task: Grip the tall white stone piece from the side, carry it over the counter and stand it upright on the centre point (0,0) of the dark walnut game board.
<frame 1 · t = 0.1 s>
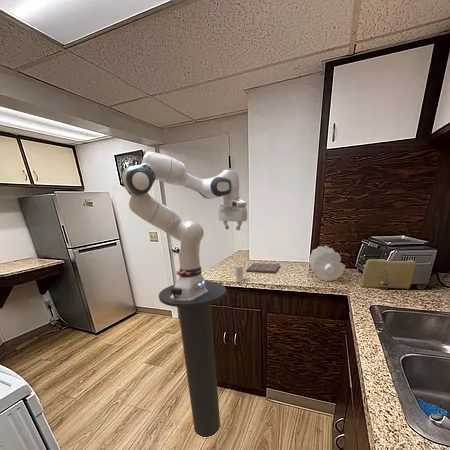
hand: (232, 229, 139), 32 cm above the counter, tool pointing down, fingers open, 8 cm apart
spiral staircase: (323, 277, 155), on the counter
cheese: (383, 286, 133), on the counter
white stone: (239, 280, 157), on the counter
board: (263, 268, 179), on the counter
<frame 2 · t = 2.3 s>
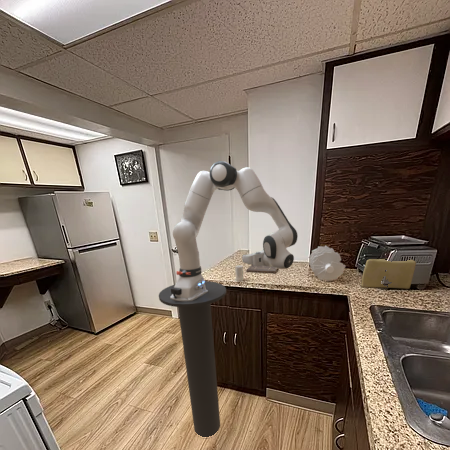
hand: (250, 254, 141), 18 cm above the counter, tool horizontal, fingers open, 8 cm apart
nothing on the counter moved.
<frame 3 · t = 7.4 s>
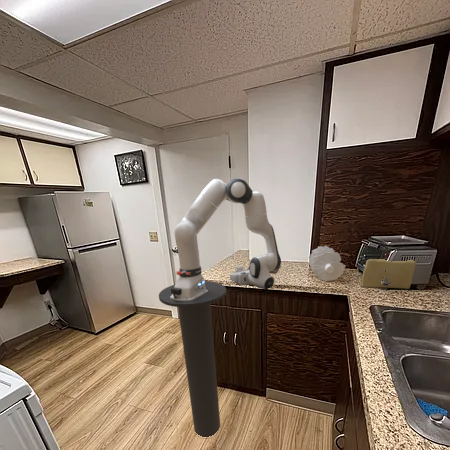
hand: (238, 272, 156), 5 cm above the counter, tool horizontal, fingers closed on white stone, 5 cm apart
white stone: (239, 280, 157), on the counter, touching gripper
everything else where it was.
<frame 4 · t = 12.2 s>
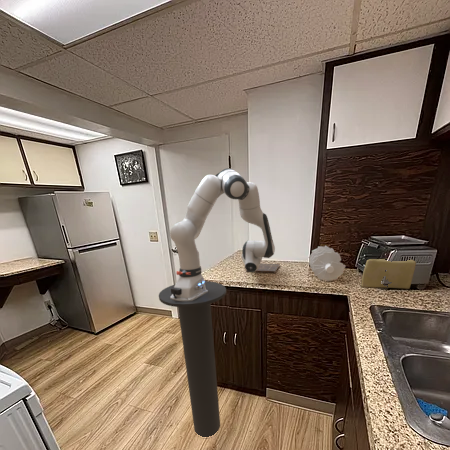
hand: (258, 249, 169), 15 cm above the counter, tool horizontal, fingers closed on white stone, 5 cm apart
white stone: (260, 256, 170), point 10 cm above the counter, tilted 17°, touching gripper
everything else where it was.
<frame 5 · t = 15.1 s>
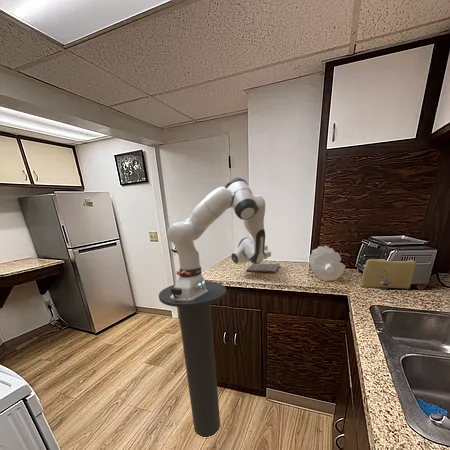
hand: (264, 251, 175), 13 cm above the counter, tool horizontal, fingers closed on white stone, 5 cm apart
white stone: (263, 258, 176), point 8 cm above the counter, touching gripper
everything else where it was.
when the fingers open (7 cm above the counter, at t = 17.3 s): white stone stays where it is, resting on board.
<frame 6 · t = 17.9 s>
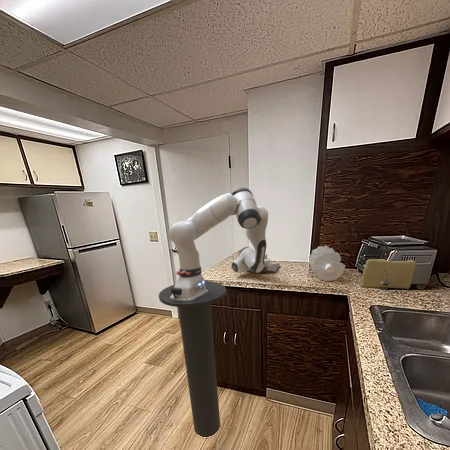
hand: (264, 259, 177), 7 cm above the counter, tool horizontal, fingers open, 8 cm apart
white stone: (263, 266, 179), point 2 cm above the counter, touching board
everything else where it was.
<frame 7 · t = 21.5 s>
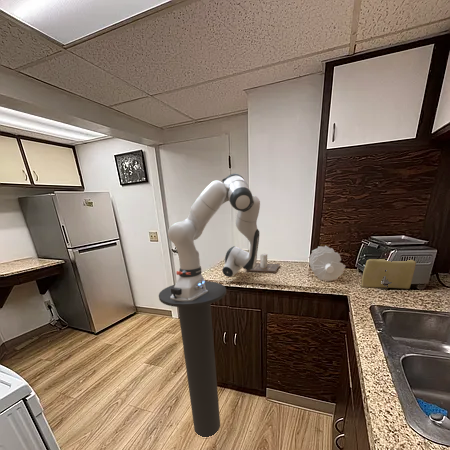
hand: (243, 256, 172), 11 cm above the counter, tool horizontal, fingers open, 8 cm apart
nothing on the counter moved.
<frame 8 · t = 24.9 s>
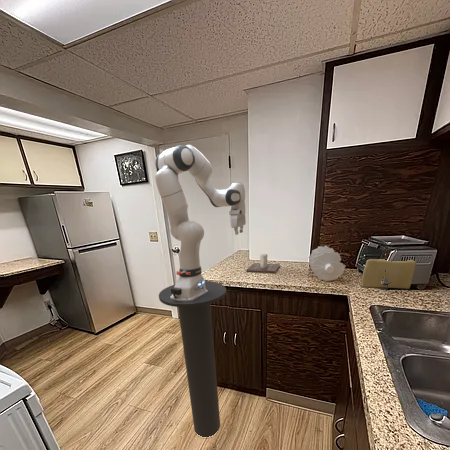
hand: (239, 233, 161), 27 cm above the counter, tool pointing down, fingers open, 8 cm apart
nothing on the counter moved.
at the end: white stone 0.2 cm off-centre on the board, point 1.6 cm above the board's base; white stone tilted 0°; the gripper is holding nothing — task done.
